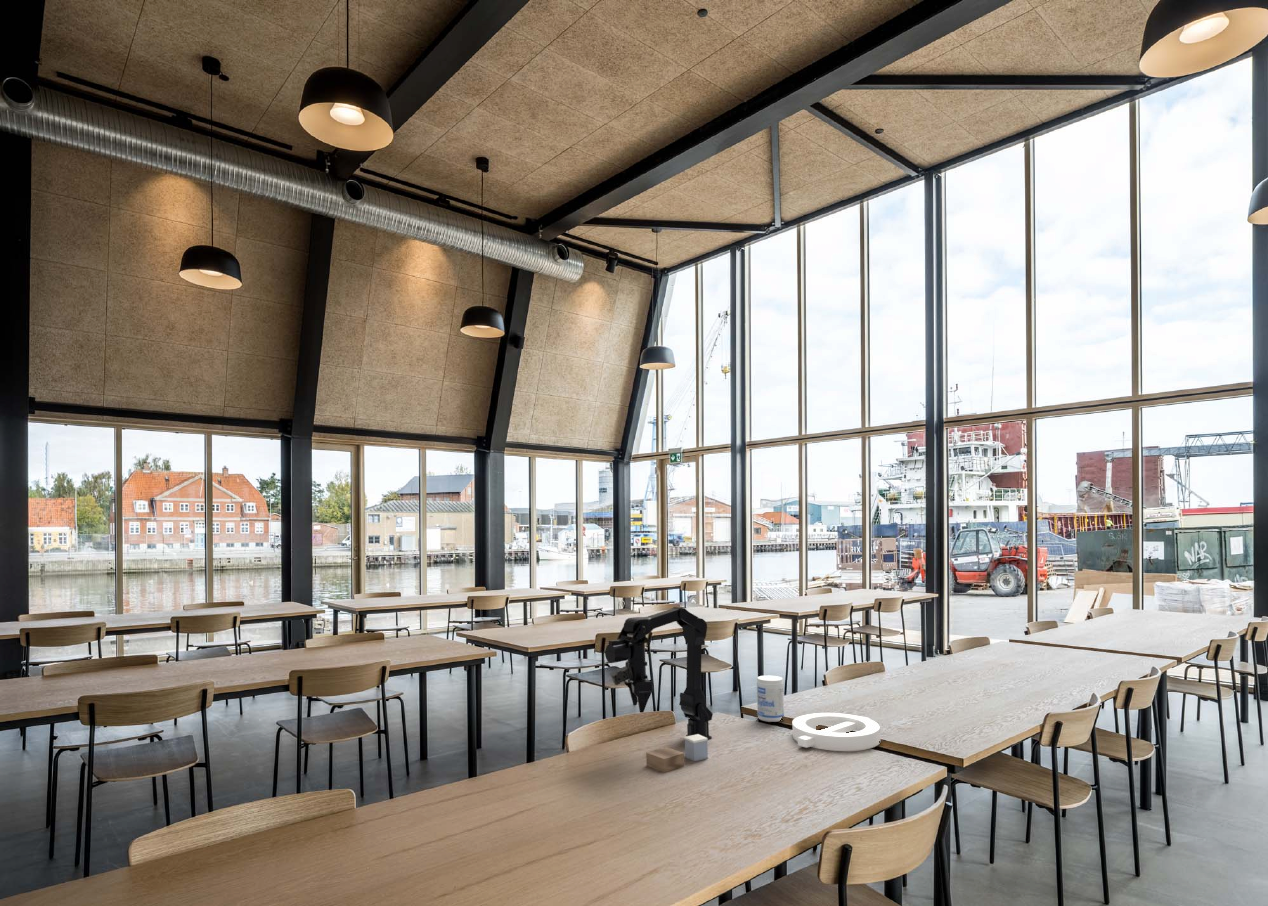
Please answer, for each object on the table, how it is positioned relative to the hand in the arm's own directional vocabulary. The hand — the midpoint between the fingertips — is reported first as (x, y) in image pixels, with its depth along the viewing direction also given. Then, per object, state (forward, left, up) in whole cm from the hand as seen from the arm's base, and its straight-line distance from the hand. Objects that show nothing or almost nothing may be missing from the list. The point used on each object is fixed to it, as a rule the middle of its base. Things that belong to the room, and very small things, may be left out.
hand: (638, 708), depth 224 cm
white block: (-13, +13, -14) cm, 23 cm away
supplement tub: (-60, -7, -14) cm, 62 cm away
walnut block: (-1, +14, -14) cm, 20 cm away
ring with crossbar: (-63, +22, -14) cm, 68 cm away
